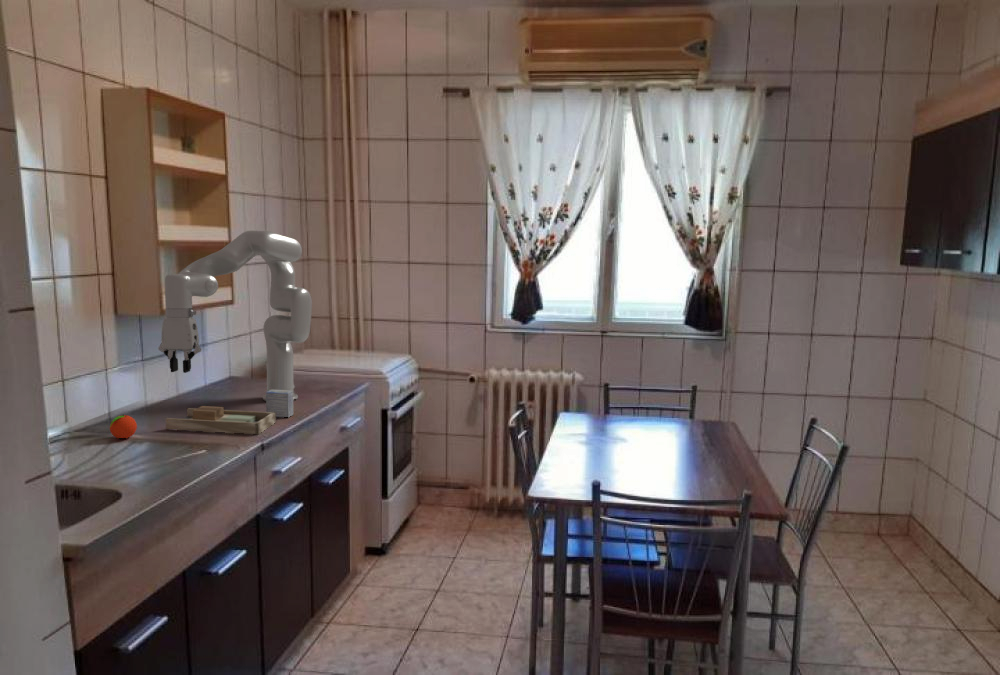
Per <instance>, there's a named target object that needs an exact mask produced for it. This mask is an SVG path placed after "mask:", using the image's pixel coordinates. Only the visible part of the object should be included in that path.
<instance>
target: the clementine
mask: <svg viewBox="0 0 1000 675" xmlns="http://www.w3.org/2000/svg"><path fill="white" fill-rule="evenodd" d="M137 429H138V425H137V421H136V419H135V418H133V417H132V416H130V415H127V414H122V415H117V416H116V417H114V418H113V419H112V421H111V422H110V425H109V431H110V433H111V435H112V436H113V437H115V438H116V439H119V438H126V439H128V437H129V438H131V437H132V436H133V435H134V434H135V433H136V431H137Z"/></svg>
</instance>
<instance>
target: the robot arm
mask: <svg viewBox="0 0 1000 675" xmlns="http://www.w3.org/2000/svg"><path fill="white" fill-rule="evenodd" d="M302 248H303V247H302V245H301V244H300V242H299V241H298V240H297V239H295V238H293V237H290V236H285V235H283V234H281V233H280V234H279V233H277V232H273V231H268V230H246V231H244V232H241V233H240V234H239V235H238V236H237V237H235V238H234V239H233V240H231V241H230V242H229V243H228V244H226V245H225V246H224V247H223V248H221V249H219V250H218V251H215V252H213V253H210V254H209V255H206V256H204V257H201V258H199V259H197V260H195V261H193V262H191V263H190V264H188V265H187V266H185V268H183V269H182V270H181V271H179V272H178V273H169V274H166V275H165V276H164V301H165V302H164V303H165V306H164V307H165V317H163V320H162V326H161V327H162V328H161V338H160V339H161V340H160V341H161V343H160V344H159V346H158V351H160V352H162V353H163V354H164V355H165V356H166V357H167V359H168V360H169V369H170V372H171V373H174V372H177V371H179V359H178V357H177V351H182V352H183V357H184V359H183V360H182V372H183V373H189V372H191V369H192V359H193V358H194V357H195V356H196V355H197V354H199V353H201V352H203V351H202V347H201V346H200V340H199V339H200V337H199V331H198V330H199V329H198V328H199V327H198V324H197V320H196V318H195V317H193V316H196V315H197V311H196V310H194V309H193V297H201V298H207V297H210V296H213V295H215V294H216V293H217V292H218V289H219V282H218V280H217V278H216V277H218V276H222V275H223V276H224V275H228V274H232V273H235V272H237V271H239V270H240V269H241V268H242V267H244V266H245V265H246V264H248V263H249V262H250V261H251V260H252V259H254V258H255V257H257V256H260V257H261V258H262V260H264V262H266V264H267V266H268V268H269V271H270V290H269V291H270V292H269V304H270V307H271V309H273V310H274V311H278V312H282V313H290V315H284V314H283V315H282V314H274V315H271V316H268V317H267V318H266V319H265V321H264V324H263V327H262V328H263V335H264V339H265V344H266V346H265V347H266V392H268V391H269V390H290V391H293V401H295V400H294V399H296V400H297V399H298V398H299V395H298V394H297V393H295V392H294V389H295V387H296V386H295V384H294V349H293V346H292V344H291V343H294V344H297V343H298V344H302V343H304V342H305V341H307V339H308V338H309V336H310V332H311V323H312V312H313V311H312V310H313V300H312V296H311V293H310V291H309V290H308V289H306V288H304V287H300V286H296V271H295V268H294V266H293V264H292V263H295V262H297V261H298V260H299V259H300V258H301V256H302V254H303V249H302ZM193 349H194V350H193ZM262 400H263V401H265V402H266V393H265V394H263V395H262Z"/></svg>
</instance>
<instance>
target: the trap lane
mask: <svg viewBox="0 0 1000 675" xmlns="http://www.w3.org/2000/svg"><path fill="white" fill-rule="evenodd" d="M195 409H197V408H192V407H191V408H190V407H189V408H187V411H186V412H187V416H185V417H183V418H173V417H171V418H170V417H166V418H165V430H166V429H177V430H192V431H191V432H196V431H203V432H202V433H215V432H225V433H224V434H234V433H244V434H243V435H253V434H258V435H260V434H261V432H262V433H264V432H265V431H266V430H267V428H268V429H269V428H271V427H272V426H273V425H275V424H276V422H277V421H276V420H277V417H276V413H275V412H266V411H253V410H251V411H250V410H233V409H231V410H230V409H223V410H224V416H223V417H221V418H219V419H218V420H216V421H214V420H195V419H193V410H195ZM274 423H275V424H274ZM271 425H272V426H271ZM177 430H176V431H177ZM264 430H265V431H264ZM258 435H257V436H258Z"/></svg>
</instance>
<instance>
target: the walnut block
mask: <svg viewBox="0 0 1000 675" xmlns="http://www.w3.org/2000/svg"><path fill="white" fill-rule="evenodd" d="M224 410H225V409H224V406H213V405H212V406H211V405H209V406H207V405H201V406H199V407H198V408H196V409H195V410H193V419H195V420H214V421H216V420H218V419H219V418H221V417H223V416H224Z"/></svg>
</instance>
